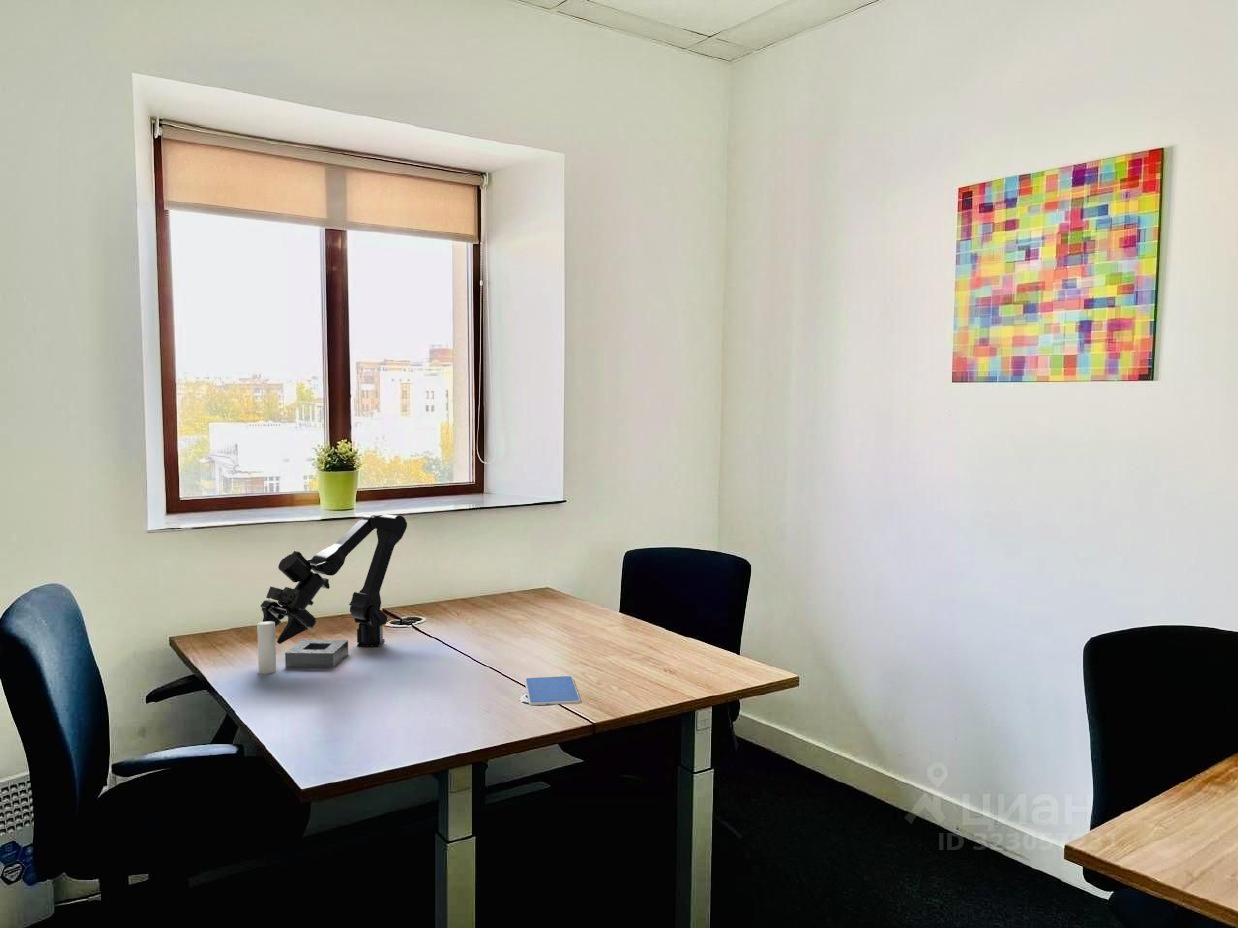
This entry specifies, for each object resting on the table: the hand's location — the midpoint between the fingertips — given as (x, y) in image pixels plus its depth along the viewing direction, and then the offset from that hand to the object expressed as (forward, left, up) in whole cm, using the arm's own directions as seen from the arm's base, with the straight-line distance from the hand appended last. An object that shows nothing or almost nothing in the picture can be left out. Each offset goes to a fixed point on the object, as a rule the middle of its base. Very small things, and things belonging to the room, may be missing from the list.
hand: (268, 639), depth 244 cm
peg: (0, 0, -8) cm, 8 cm away
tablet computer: (-77, +14, -9) cm, 79 cm away
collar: (-10, -10, -8) cm, 16 cm away
